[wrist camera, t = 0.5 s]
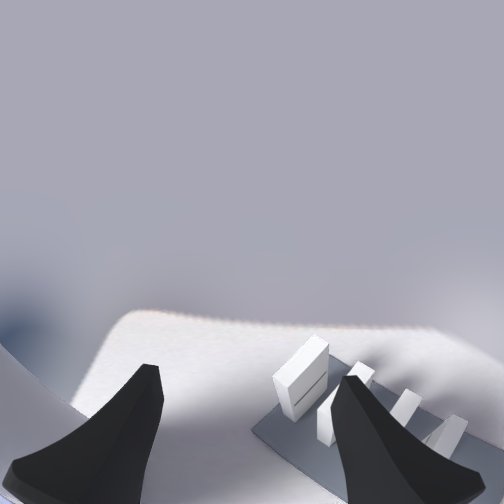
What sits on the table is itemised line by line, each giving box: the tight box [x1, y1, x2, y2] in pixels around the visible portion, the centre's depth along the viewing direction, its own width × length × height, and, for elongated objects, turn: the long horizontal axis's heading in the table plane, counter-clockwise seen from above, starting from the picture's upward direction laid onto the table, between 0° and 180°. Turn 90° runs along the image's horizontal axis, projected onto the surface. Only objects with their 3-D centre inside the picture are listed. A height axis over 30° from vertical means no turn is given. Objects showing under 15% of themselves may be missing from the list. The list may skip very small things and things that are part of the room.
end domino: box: [272, 335, 329, 422], centre depth 24 cm, size 2×5×9 cm, turn 134°
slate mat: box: [251, 355, 504, 504], centre depth 18 cm, size 32×12×1 cm, turn 44°
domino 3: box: [421, 414, 468, 459], centre depth 16 cm, size 2×5×9 cm, turn 134°
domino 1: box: [317, 361, 375, 447], centre depth 21 cm, size 2×5×9 cm, turn 134°
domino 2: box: [390, 388, 423, 427], centre depth 19 cm, size 2×5×9 cm, turn 134°
